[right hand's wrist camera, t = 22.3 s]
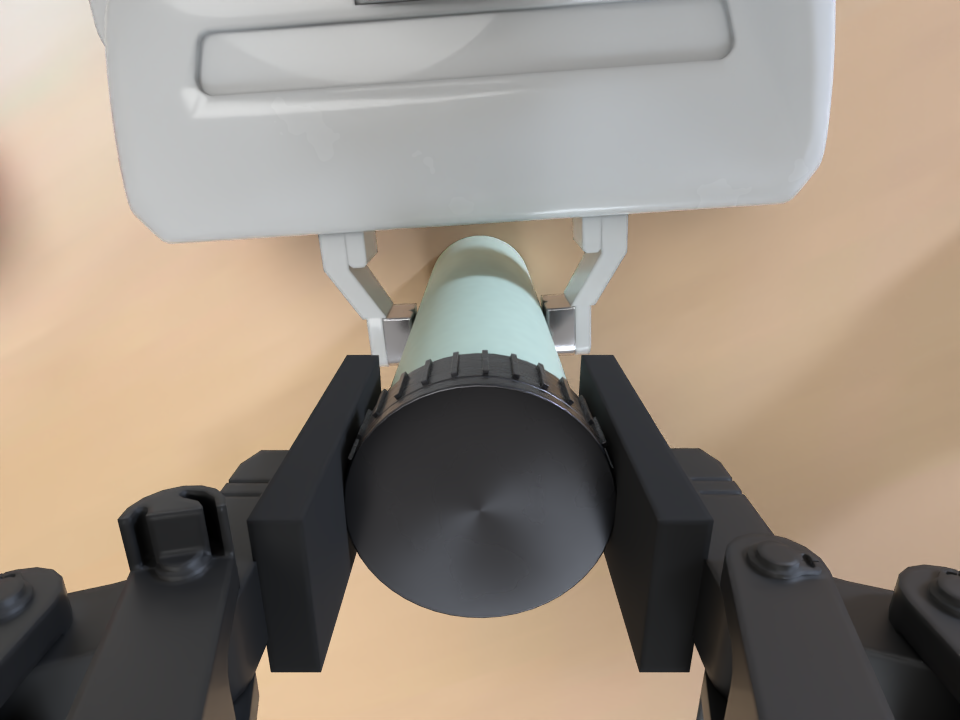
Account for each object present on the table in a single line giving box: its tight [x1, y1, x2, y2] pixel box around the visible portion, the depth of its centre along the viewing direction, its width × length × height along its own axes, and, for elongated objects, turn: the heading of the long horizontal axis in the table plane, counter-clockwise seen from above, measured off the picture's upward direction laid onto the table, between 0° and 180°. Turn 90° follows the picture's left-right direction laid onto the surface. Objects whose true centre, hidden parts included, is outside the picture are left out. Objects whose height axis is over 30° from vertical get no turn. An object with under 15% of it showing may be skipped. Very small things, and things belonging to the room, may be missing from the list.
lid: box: [344, 350, 617, 618], centre depth 11 cm, size 5×5×2 cm
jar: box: [391, 236, 569, 387], centre depth 19 cm, size 4×4×16 cm
